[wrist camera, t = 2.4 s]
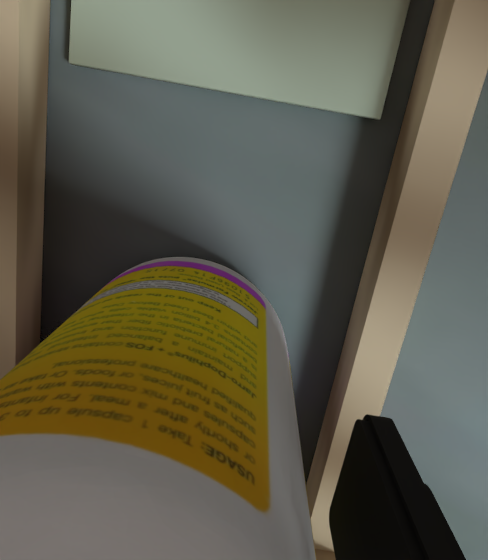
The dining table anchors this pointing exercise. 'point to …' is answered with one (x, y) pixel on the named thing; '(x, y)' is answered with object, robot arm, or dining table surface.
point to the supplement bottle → (156, 427)
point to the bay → (275, 87)
